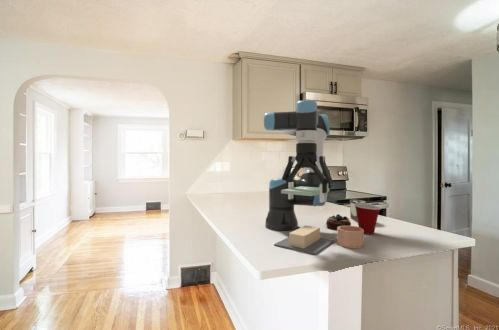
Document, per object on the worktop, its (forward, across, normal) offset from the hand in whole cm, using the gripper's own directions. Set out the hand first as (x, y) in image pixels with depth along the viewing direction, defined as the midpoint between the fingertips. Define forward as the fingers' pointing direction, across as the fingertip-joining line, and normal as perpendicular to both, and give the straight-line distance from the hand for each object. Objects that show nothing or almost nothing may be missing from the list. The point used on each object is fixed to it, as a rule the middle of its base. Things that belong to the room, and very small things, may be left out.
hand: (305, 200), depth 104 cm
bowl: (+16, +14, +9) cm, 23 cm away
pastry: (+17, +1, +32) cm, 36 cm away
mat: (+16, 0, 0) cm, 16 cm away
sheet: (-3, 0, 0) cm, 3 cm away
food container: (+17, +5, +52) cm, 55 cm away
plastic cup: (+17, +14, +30) cm, 37 cm away
